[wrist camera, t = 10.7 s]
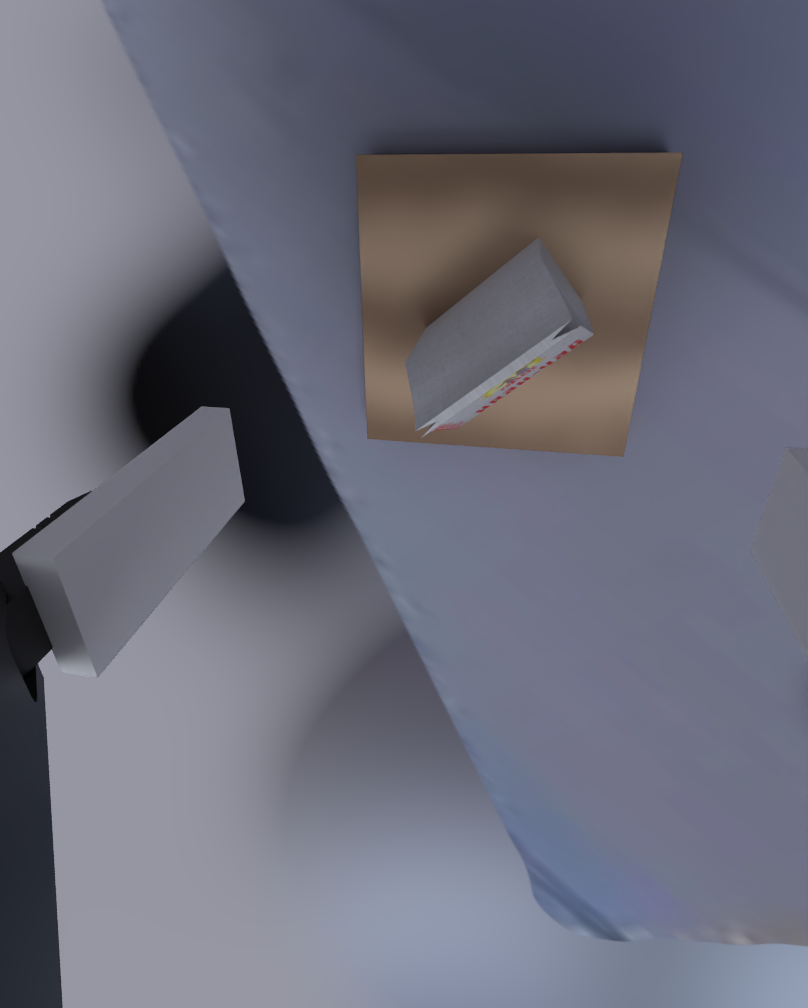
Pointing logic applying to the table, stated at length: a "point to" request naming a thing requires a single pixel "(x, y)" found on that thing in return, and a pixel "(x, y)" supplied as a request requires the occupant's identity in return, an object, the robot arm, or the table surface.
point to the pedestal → (486, 248)
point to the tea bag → (495, 340)
